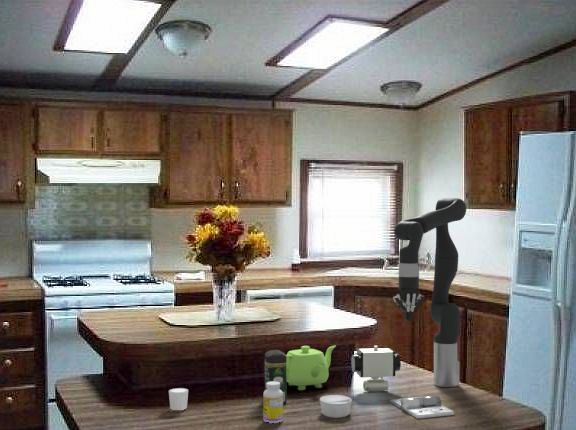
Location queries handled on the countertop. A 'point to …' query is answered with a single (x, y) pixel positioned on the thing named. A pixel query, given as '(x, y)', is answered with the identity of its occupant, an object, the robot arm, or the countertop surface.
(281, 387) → the coffee jar
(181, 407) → the shot glass
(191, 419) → the countertop surface
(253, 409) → the countertop surface
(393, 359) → the ball valve
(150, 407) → the countertop surface
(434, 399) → the fixed leaf
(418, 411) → the loose leaf
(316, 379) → the teapot
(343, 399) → the ramekin
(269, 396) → the supplement bottle
